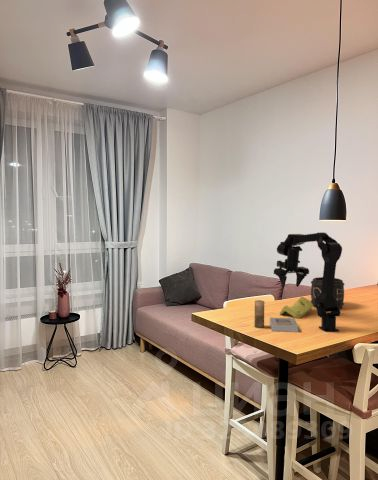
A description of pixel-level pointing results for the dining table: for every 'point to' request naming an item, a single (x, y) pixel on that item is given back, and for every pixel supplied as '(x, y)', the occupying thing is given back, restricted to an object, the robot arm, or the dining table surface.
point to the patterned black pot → (337, 291)
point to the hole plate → (283, 324)
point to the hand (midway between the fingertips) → (290, 287)
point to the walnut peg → (259, 314)
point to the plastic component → (298, 308)
